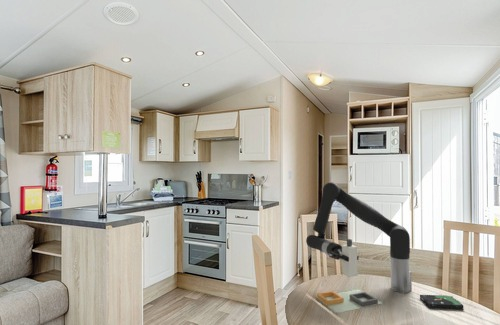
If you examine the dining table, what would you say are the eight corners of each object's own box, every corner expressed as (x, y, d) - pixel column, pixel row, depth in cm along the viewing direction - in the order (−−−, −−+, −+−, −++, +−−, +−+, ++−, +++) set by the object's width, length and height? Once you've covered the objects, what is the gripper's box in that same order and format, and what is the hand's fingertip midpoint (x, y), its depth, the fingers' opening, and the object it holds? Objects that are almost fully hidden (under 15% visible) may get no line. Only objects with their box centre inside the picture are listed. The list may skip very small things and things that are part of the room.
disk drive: (429, 310, 137) (464, 311, 135) (429, 304, 137) (464, 304, 135) (419, 300, 147) (451, 300, 145) (419, 294, 147) (451, 295, 145)
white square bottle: (350, 272, 147) (350, 238, 148) (357, 275, 143) (357, 240, 143) (342, 273, 146) (341, 238, 146) (348, 277, 141) (348, 241, 141)
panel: (358, 291, 157) (358, 285, 157) (382, 305, 141) (382, 298, 141) (315, 299, 148) (315, 293, 148) (336, 315, 132) (336, 308, 132)
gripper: (320, 243, 155) (340, 252, 139) (343, 240, 160) (365, 249, 144) (320, 257, 155) (340, 268, 139) (343, 254, 160) (365, 264, 144)
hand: (353, 258), depth 142 cm, fingers closed on white square bottle, 5 cm apart
